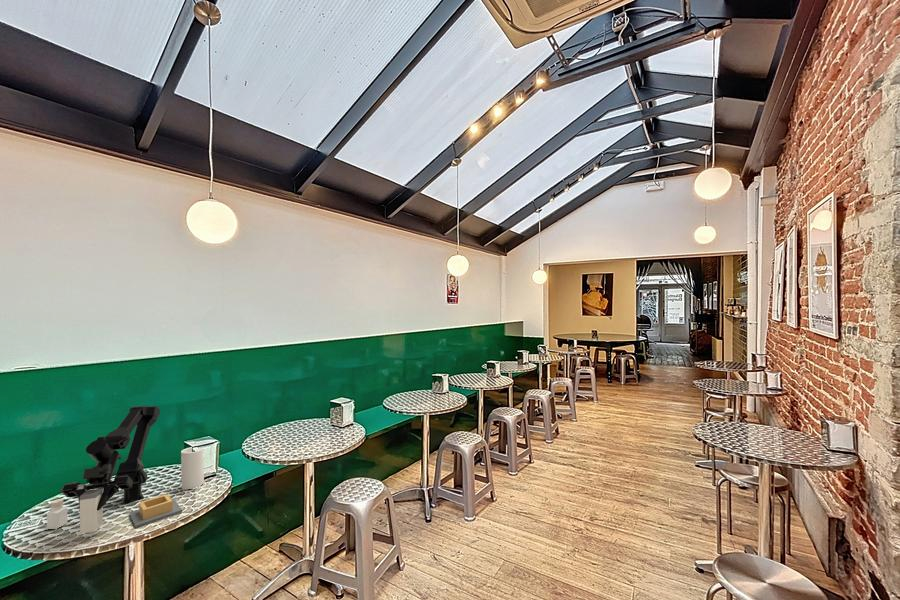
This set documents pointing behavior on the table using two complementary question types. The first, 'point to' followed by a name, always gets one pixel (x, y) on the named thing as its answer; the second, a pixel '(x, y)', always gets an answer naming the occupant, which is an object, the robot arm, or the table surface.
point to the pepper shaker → (56, 515)
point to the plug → (90, 511)
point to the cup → (192, 468)
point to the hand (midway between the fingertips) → (89, 511)
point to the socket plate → (154, 510)
